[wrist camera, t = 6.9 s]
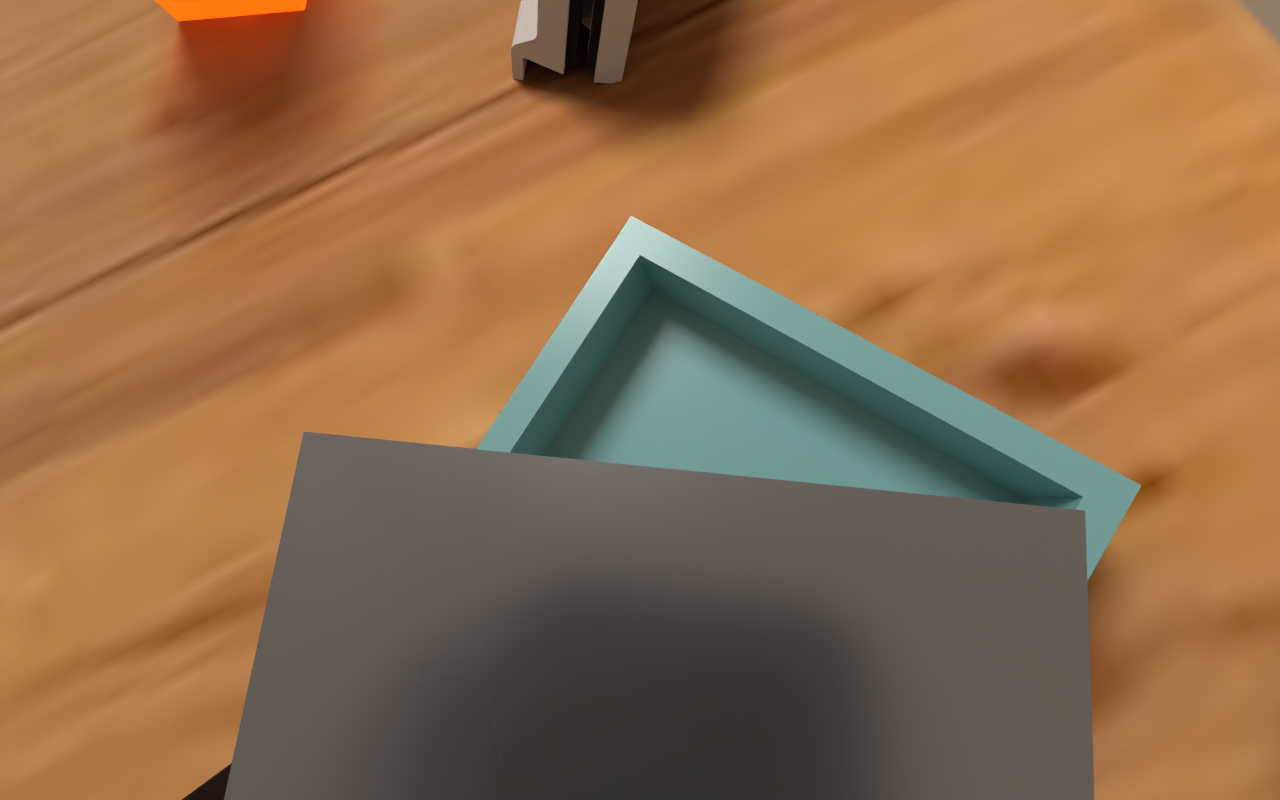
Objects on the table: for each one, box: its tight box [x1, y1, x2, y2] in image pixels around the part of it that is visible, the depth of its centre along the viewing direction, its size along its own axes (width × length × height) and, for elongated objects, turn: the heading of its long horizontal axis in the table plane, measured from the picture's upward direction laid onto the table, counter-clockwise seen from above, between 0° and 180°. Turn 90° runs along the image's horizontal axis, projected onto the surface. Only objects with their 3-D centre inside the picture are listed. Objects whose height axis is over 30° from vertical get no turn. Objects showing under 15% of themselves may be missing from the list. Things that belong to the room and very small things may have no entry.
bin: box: [477, 216, 1141, 581], centre depth 18 cm, size 16×16×4 cm
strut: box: [224, 432, 1094, 800], centre depth 8 cm, size 5×5×11 cm
